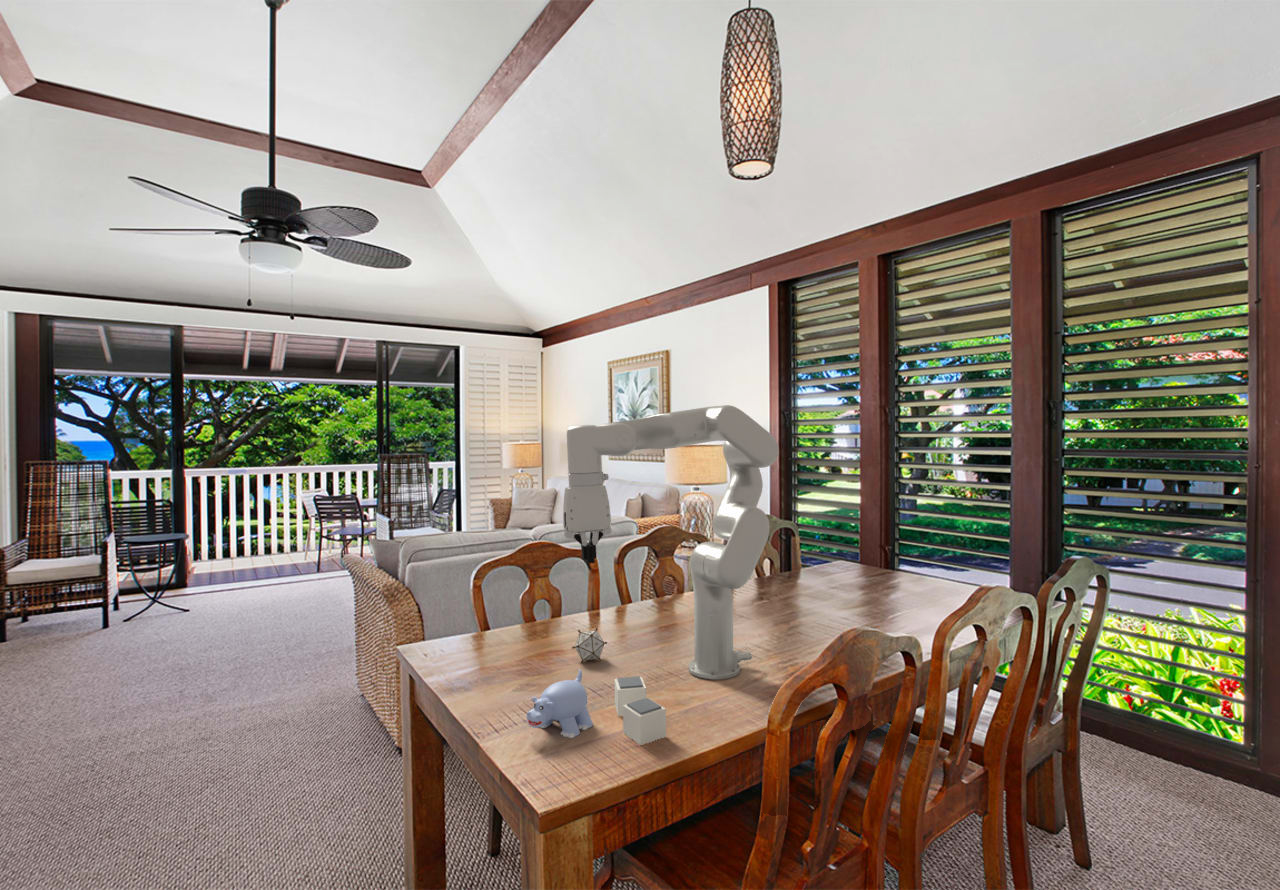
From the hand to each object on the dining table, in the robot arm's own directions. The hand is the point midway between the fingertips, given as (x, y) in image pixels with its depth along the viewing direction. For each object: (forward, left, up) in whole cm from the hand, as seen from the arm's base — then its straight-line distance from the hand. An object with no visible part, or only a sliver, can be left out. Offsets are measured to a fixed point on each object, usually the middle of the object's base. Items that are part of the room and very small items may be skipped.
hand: (589, 562), depth 139 cm
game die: (-5, -22, -30) cm, 38 cm away
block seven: (-5, +21, -30) cm, 37 cm away
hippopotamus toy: (+10, +13, -31) cm, 34 cm away
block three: (-6, +9, -30) cm, 32 cm away
